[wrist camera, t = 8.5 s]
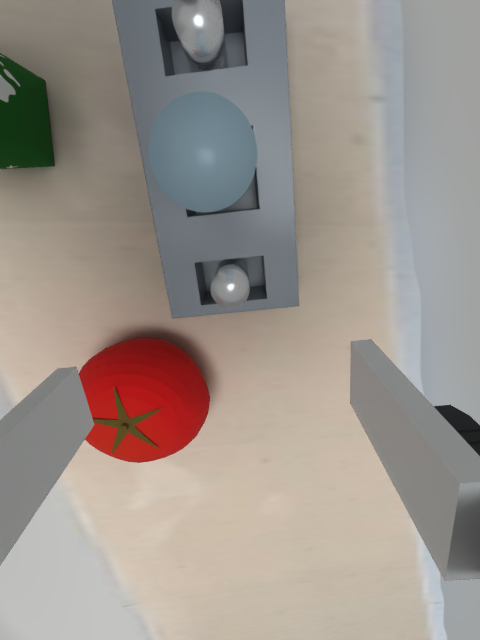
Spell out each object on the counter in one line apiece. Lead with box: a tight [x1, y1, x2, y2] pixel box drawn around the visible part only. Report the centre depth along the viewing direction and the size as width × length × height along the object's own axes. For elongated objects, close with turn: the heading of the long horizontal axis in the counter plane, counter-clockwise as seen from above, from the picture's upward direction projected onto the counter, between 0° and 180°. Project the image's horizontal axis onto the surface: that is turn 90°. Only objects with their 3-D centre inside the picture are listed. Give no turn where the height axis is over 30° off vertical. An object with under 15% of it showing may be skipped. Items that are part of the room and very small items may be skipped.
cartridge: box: [149, 91, 257, 212], centre depth 24 cm, size 5×5×16 cm
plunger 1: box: [172, 0, 227, 73], centre depth 24 cm, size 3×3×7 cm
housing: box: [112, 0, 299, 318], centre depth 29 cm, size 24×12×6 cm, turn 6°
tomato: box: [79, 338, 210, 463], centre depth 35 cm, size 14×13×10 cm
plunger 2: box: [211, 258, 250, 308], centre depth 30 cm, size 3×3×7 cm
